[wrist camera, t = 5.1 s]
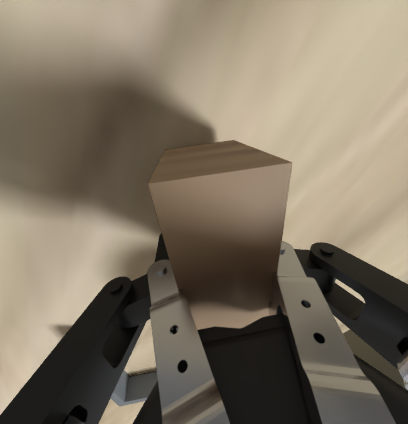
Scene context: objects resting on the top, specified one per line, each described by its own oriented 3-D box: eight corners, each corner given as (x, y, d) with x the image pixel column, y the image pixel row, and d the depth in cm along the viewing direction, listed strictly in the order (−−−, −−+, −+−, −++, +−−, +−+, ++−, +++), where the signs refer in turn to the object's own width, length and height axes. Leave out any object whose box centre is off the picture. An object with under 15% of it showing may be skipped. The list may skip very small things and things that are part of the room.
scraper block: (165, 149, 10) (147, 183, 5) (233, 140, 10) (292, 162, 5) (187, 254, 14) (191, 338, 8) (236, 245, 14) (270, 322, 9)
